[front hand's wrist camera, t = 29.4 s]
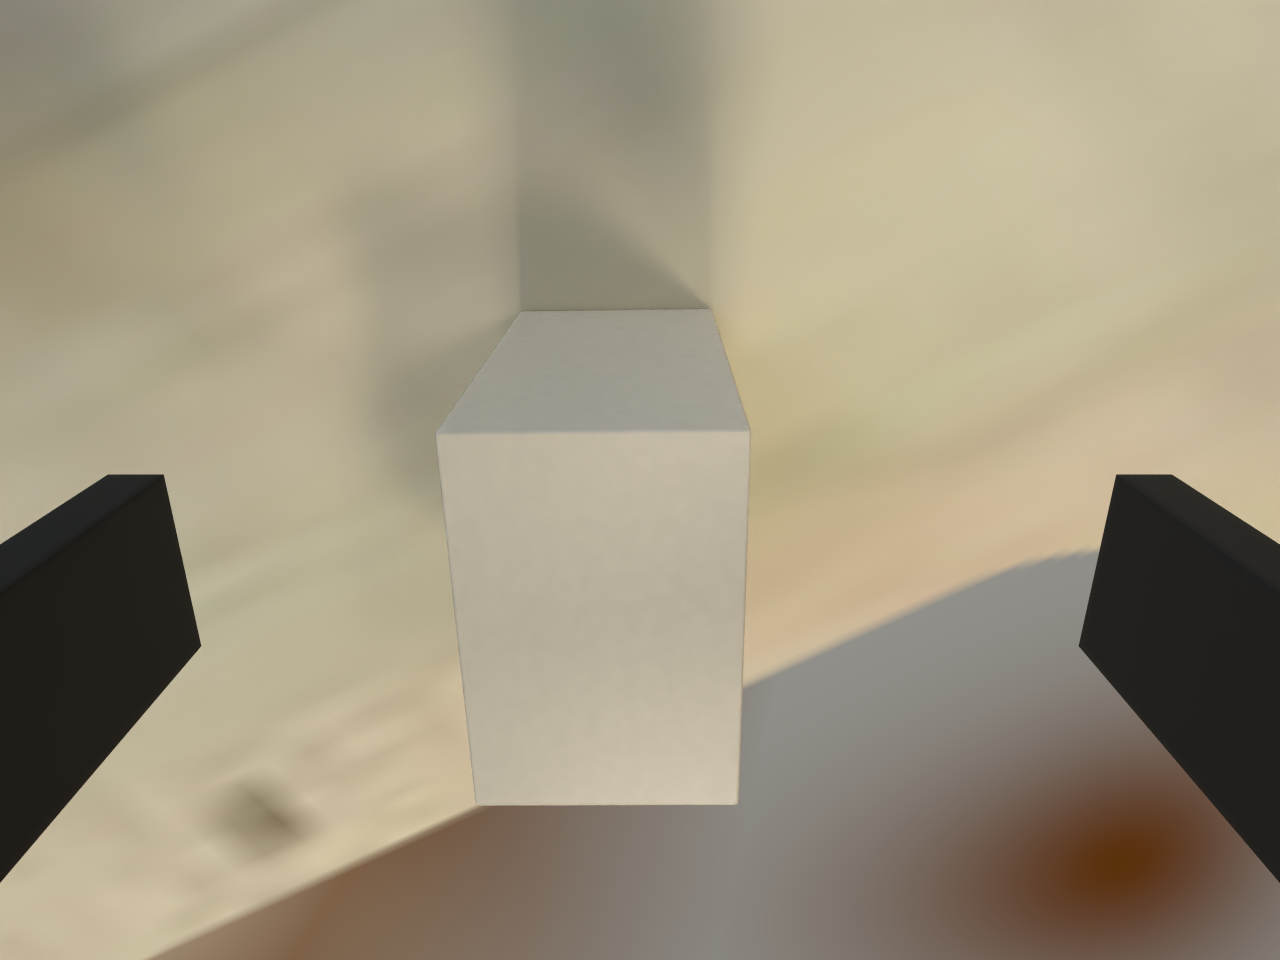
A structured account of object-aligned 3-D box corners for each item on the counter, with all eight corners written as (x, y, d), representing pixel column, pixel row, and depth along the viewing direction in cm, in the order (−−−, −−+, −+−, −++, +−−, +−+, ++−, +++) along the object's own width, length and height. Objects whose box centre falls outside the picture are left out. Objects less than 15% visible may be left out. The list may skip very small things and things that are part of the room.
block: (708, 566, 31) (738, 805, 20) (536, 567, 31) (475, 807, 20) (712, 308, 27) (751, 428, 16) (519, 311, 27) (433, 432, 17)
